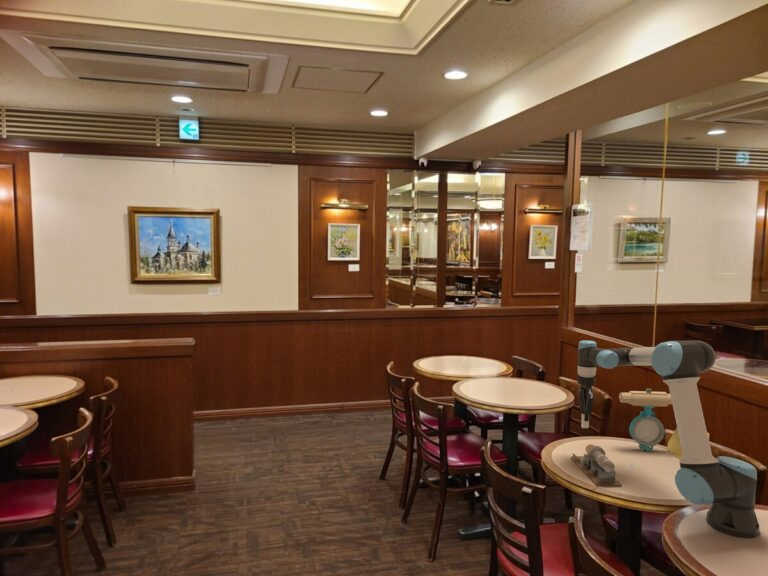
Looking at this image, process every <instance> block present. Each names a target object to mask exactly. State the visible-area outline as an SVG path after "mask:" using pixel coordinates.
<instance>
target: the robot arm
mask: <svg viewBox="0 0 768 576" xmlns="http://www.w3.org/2000/svg"><path fill="white" fill-rule="evenodd" d="M716 356H717V355H716V352H715V350H714V348H713V347H712V346H711V345H710V344H708V343H707V342H705V341H702V340H697V339H696V340H694V339H693V340H669V341H665V342H660V343H659V344H657V345H656V346H646V347H644V346H642V347H634V346H633V347H621V348H619V347H618V348H600V347H598V346H597V342H596V341H594V340H584V339H583V340H580V341H579V342H578V349H577V381H576V382H577V384H578V385H580V387H577V391H578V403H579V410H580V412H581V422H580V423H581V424H580V426H581V428H582V429H589V427H590V425H589V424H590V415H591V414H592V412H593V405H594V400H595V394H594V393H593V387H594V386H596V381H597V380H596V379H597V377H596V373H597V367H600V368H604V369H608V370H609V369H610V370H611V369H615V367H623V366H629V367H631V366H635V367H636V366H644V367H645V366H646V367H648V366H649V367H650V366H651V367H652V369H653V371H655V373H657V374H658V375H660V376H661V379H662V382H663V383H665V385H667V386H668V388H669V394H670V395H671V400H672V404H671V405H672V409H673V413H674V419H675V423H676V428H677V429H678V434H679V438H680V443H681V448H682V453H683V457H682V459H681V460H679V467H680V468H679V469H678V470H677V471H676V473H675V476H674V482H675V483H674V484H675V486H676V488H677V490H678V492H679V494H680V495H681V496H682V497H683V498H684V499H685V500H686V501H688V502H689V503H691V504H693V505H698V506H700V505H705V506H706V505H708V506H709V505H710V507H709V509H708V511H706V512H707V513H706V519H705V520H707V521H706V523H707V522H708V523H707V524H708V525H709V526H710V527H712V528H713V529H715V530H716V531H718V532H721V533H723V534H726V535H728V536H732V537H736V538H742V539H752V538H757V537H759V535H760V523H759V521H758V516H757V514H756V511H755V505H756V491H757V481H758V477H757V476H758V474H757V473H758V470H757V468H756V467H755V466H754V465H752V464H751V463H750V462H749V463H748V462H747V461H744V460H741V459H737V458H734V457H730V456H721V455H720V456H717V457H715V456H713V453H712V449H711V443H710V438H709V439H708V434H707V432H708V431H707V427H706V422H705V416H704V413H703V407H702V403H701V399H700V393H699V390H698V382H699V380H700V379H701V376H700V374H701V373H705V372H707V371H709V370H711V369H712V367H713V366H714V365H715V363H716V359H717V358H716Z"/></svg>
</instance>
